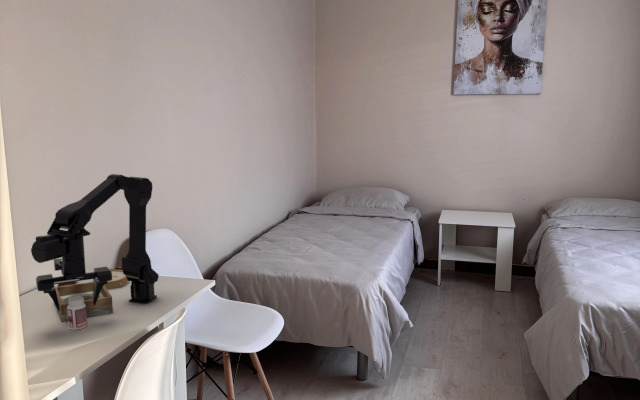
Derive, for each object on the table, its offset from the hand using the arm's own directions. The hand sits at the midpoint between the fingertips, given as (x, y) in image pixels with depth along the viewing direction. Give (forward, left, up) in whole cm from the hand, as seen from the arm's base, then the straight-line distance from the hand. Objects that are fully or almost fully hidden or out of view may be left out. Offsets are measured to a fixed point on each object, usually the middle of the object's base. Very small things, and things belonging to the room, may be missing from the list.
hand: (76, 307), depth 149 cm
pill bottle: (0, 0, -6) cm, 6 cm away
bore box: (+8, -13, -6) cm, 16 cm away
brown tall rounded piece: (+26, -30, -6) cm, 40 cm away
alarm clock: (+14, -36, -6) cm, 39 cm away
